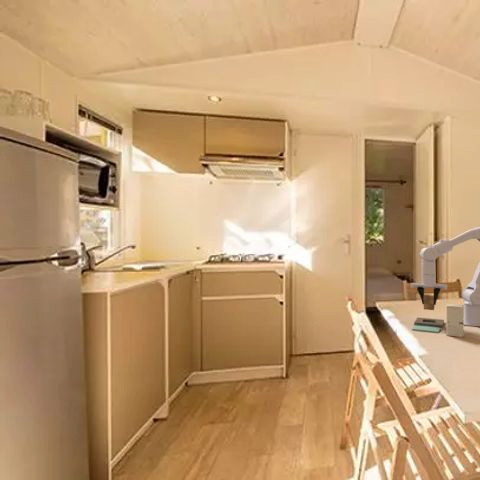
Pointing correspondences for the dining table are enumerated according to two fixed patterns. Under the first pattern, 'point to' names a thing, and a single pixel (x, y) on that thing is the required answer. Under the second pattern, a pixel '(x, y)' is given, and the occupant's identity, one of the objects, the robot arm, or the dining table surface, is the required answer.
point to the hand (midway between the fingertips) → (429, 304)
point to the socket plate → (429, 322)
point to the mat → (426, 329)
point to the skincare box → (455, 320)
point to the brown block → (429, 302)
